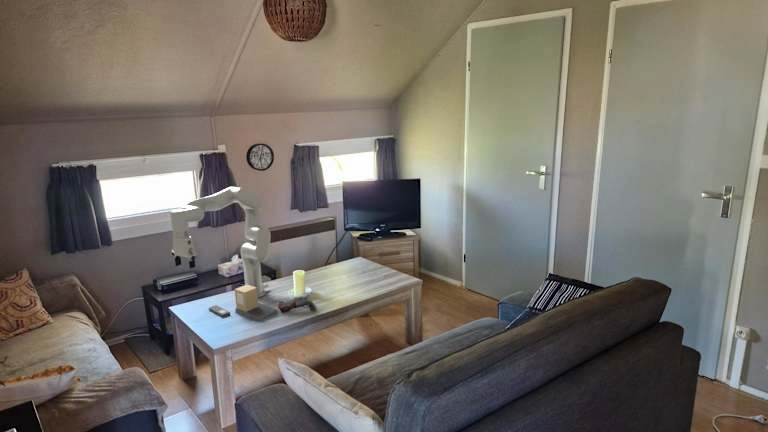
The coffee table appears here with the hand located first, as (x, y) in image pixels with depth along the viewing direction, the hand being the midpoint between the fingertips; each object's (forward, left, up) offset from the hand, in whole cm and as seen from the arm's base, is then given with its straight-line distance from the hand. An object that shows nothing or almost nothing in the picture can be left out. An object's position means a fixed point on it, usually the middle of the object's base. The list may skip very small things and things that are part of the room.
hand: (185, 266), depth 246 cm
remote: (-14, +3, -31) cm, 34 cm away
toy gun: (-39, +37, -31) cm, 62 cm away
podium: (-25, +21, -30) cm, 44 cm away
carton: (-24, +15, -28) cm, 39 cm away
